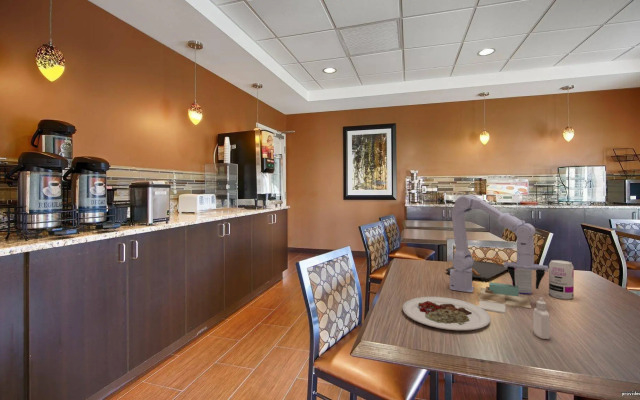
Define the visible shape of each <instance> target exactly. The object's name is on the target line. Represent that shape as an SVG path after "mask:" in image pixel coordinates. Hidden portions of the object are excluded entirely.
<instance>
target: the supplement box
mask: <svg viewBox="0 0 640 400" xmlns="http://www.w3.org/2000/svg"><path fill="white" fill-rule="evenodd" d="M514 269H515V285H516V286H518V287H519V295H532V293H533V292H532V290H533V289H532V287H533V285H532V283H533V282H532V281H533V279H532V278H533V270H529V269H519V268H514ZM511 281H512V280H511ZM511 285H513V281H512V282H511Z"/></svg>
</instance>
